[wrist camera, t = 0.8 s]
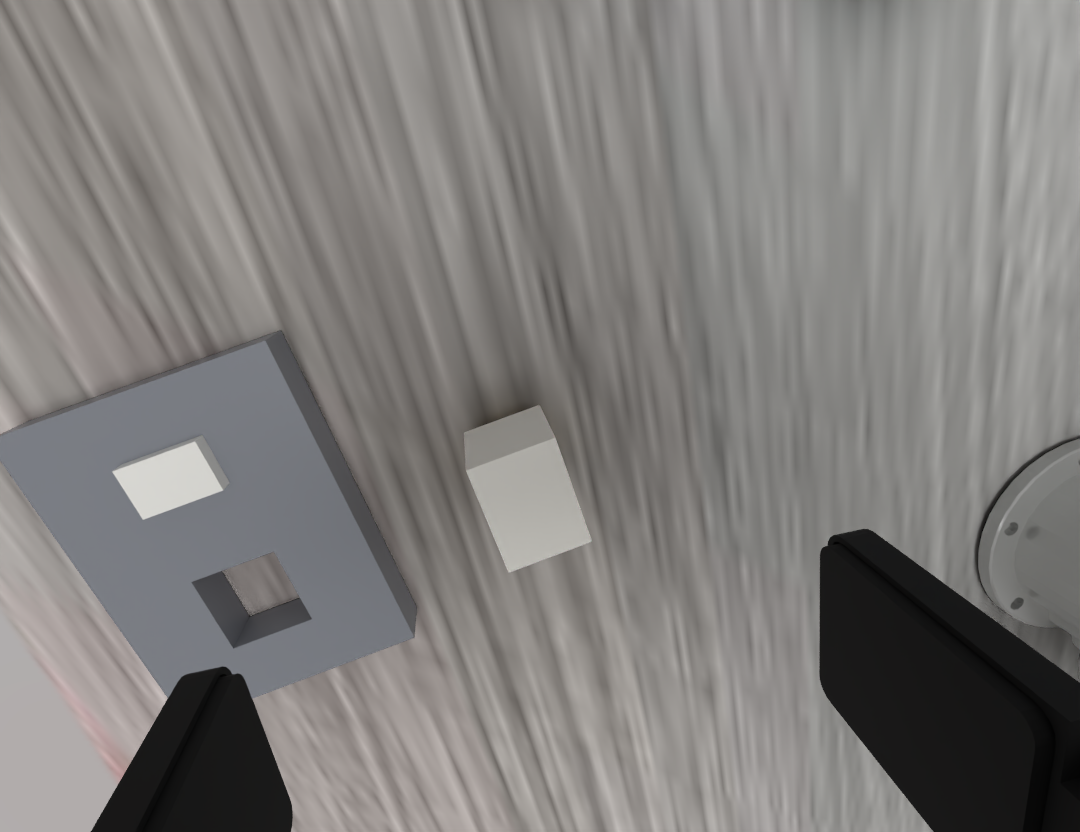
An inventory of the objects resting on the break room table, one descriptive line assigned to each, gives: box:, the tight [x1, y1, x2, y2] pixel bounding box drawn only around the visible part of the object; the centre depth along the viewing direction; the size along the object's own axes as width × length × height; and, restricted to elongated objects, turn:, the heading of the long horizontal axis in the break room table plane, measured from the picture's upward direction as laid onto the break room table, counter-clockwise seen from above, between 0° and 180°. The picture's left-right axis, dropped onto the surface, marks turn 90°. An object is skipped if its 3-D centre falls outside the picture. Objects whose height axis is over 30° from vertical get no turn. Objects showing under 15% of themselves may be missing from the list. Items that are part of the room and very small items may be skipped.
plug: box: [464, 405, 592, 573], centre depth 27 cm, size 5×4×7 cm
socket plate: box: [0, 330, 417, 698], centre depth 29 cm, size 16×12×3 cm
